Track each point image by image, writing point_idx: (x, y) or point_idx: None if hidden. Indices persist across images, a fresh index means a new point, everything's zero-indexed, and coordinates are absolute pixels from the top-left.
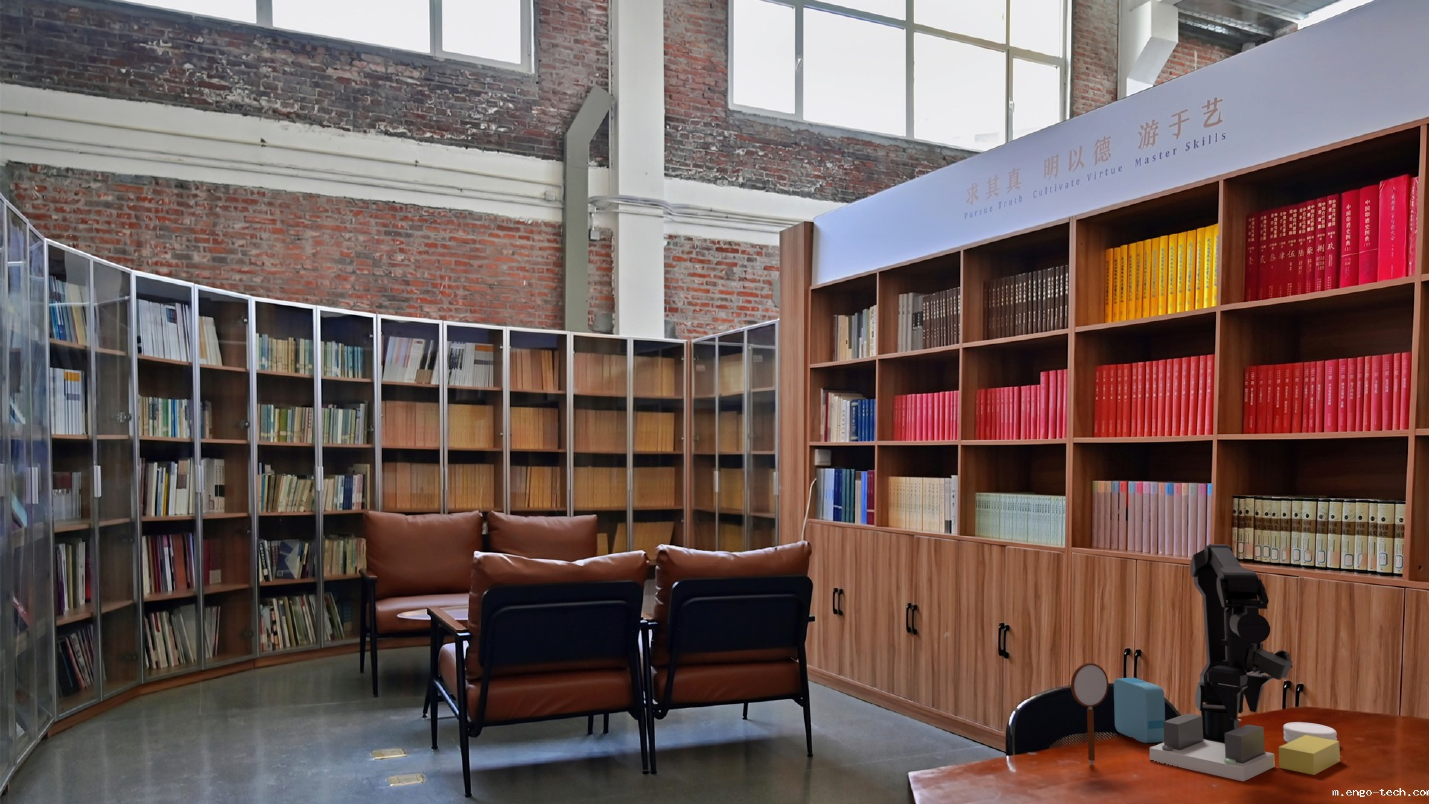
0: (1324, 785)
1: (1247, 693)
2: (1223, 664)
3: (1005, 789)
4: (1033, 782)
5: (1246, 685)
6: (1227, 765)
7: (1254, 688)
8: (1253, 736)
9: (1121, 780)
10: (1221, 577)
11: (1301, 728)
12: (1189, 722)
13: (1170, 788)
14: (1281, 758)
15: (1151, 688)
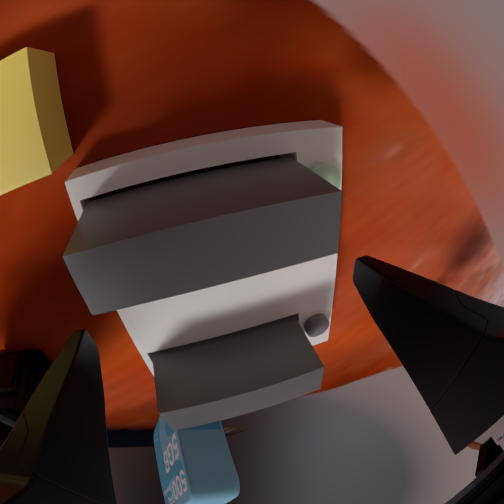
0: None
1: (97, 450)
2: None
3: (498, 275)
4: (478, 284)
5: (99, 501)
6: (340, 171)
7: (67, 474)
8: (190, 210)
9: (444, 253)
10: None
11: None
12: (248, 386)
13: (448, 189)
14: (62, 154)
15: (220, 495)
